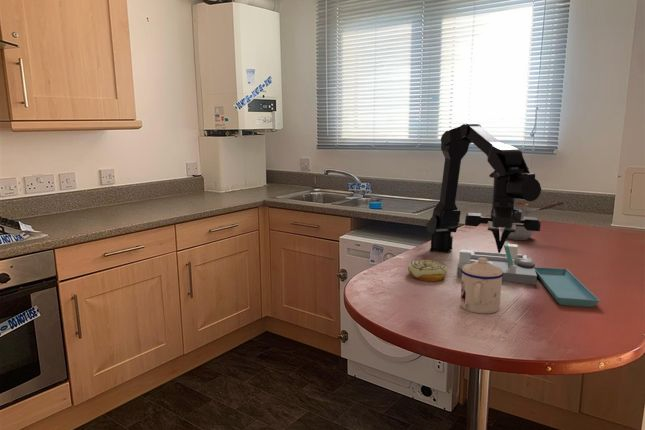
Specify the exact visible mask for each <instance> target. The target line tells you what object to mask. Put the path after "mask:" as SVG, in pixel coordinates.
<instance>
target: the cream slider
mask: <svg viewBox="0 0 645 430" xmlns="http://www.w3.org/2000/svg"><path fill="white" fill-rule="evenodd" d="M508 246H509V250H510V253H511V257H512V258H517V255H518V253H519V252H518V251H519V245H518V244H514V243H513V244H512V243H508ZM506 257H507V255H506Z"/></svg>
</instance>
